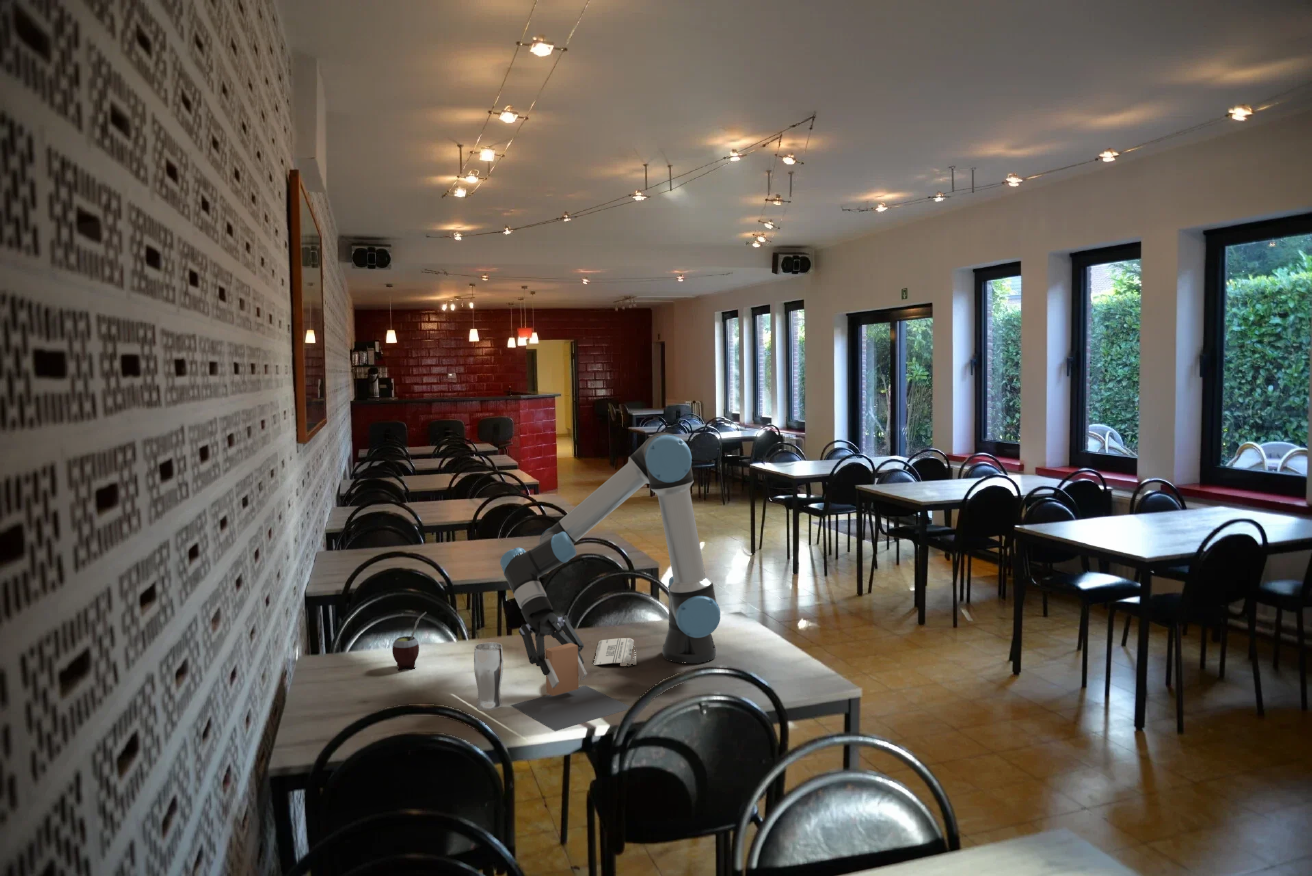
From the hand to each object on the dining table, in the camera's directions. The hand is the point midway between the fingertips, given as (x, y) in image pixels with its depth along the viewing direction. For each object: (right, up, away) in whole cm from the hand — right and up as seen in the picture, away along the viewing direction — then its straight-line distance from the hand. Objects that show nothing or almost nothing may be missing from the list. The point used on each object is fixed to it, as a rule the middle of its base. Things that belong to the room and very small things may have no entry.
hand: (570, 681), depth 222 cm
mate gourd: (-47, -3, +26) cm, 54 cm away
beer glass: (-19, -6, -3) cm, 20 cm away
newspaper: (+10, -3, +38) cm, 39 cm away
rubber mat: (+1, -5, -4) cm, 7 cm away
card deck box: (-2, -3, +3) cm, 5 cm away
